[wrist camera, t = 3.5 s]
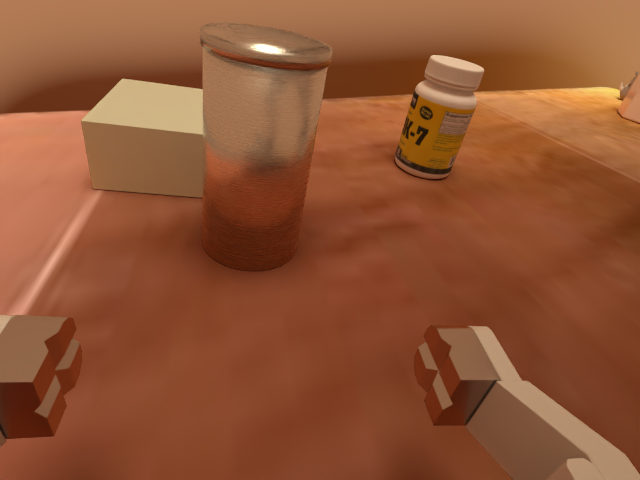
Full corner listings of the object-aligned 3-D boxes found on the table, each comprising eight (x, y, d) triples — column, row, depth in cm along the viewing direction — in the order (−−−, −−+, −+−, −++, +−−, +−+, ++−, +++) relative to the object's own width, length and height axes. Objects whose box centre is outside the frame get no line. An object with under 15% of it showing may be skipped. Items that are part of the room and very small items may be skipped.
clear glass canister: (295, 217, 24) (323, 36, 19) (302, 274, 20) (342, 63, 14) (205, 211, 23) (207, 16, 18) (194, 269, 19) (191, 40, 13)
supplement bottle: (384, 154, 35) (413, 50, 30) (431, 156, 37) (466, 57, 32) (409, 180, 32) (446, 67, 27) (459, 181, 33) (503, 74, 28)
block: (239, 147, 31) (243, 94, 29) (235, 200, 25) (238, 138, 22) (128, 135, 30) (122, 78, 27) (92, 188, 23) (80, 120, 21)
